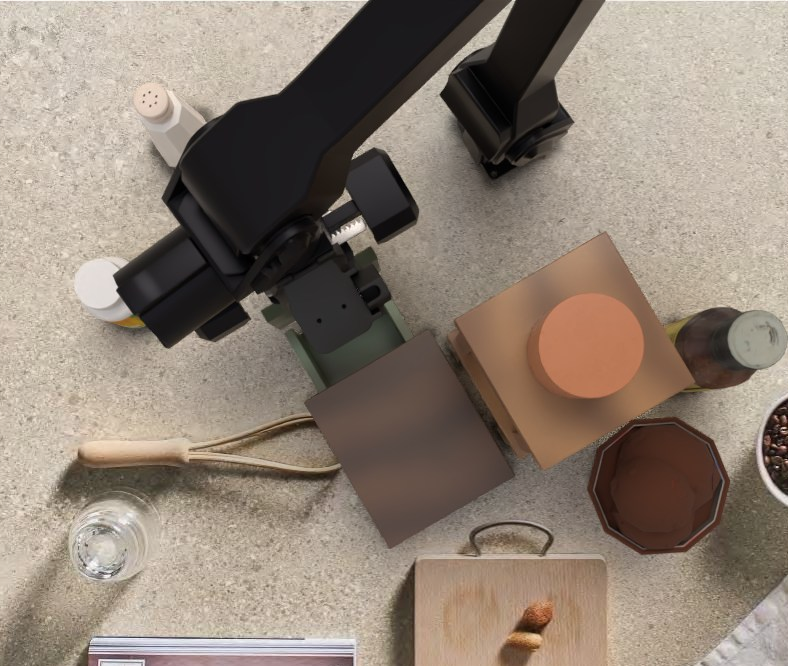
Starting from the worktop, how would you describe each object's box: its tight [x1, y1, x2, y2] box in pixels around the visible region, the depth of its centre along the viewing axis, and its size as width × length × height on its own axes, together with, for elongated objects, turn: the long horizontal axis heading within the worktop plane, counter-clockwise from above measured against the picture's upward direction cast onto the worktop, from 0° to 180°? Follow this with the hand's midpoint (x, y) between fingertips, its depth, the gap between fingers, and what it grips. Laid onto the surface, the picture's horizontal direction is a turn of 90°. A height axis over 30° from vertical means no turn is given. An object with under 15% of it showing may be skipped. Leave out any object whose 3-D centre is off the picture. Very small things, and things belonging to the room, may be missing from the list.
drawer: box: [260, 245, 415, 394], centre depth 74 cm, size 17×10×7 cm, turn 30°
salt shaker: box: [132, 81, 208, 169], centre depth 74 cm, size 5×5×11 cm
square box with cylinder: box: [445, 230, 695, 472], centre depth 67 cm, size 11×11×24 cm
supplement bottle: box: [73, 255, 147, 329], centre depth 74 cm, size 5×5×10 cm
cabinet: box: [303, 328, 516, 550], centre depth 74 cm, size 14×12×9 cm
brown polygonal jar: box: [586, 416, 731, 556], centre depth 71 cm, size 11×11×15 cm
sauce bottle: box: [663, 306, 788, 393], centre depth 68 cm, size 7×6×20 cm
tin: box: [527, 293, 644, 399], centre depth 52 cm, size 6×6×5 cm
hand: (306, 264), depth 73 cm, fingers closed
